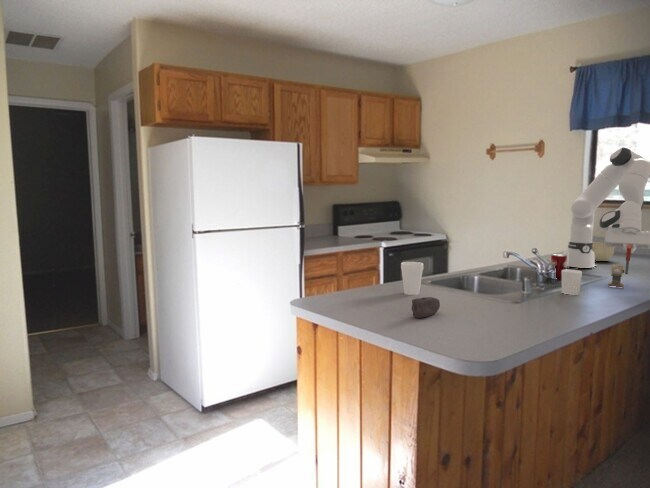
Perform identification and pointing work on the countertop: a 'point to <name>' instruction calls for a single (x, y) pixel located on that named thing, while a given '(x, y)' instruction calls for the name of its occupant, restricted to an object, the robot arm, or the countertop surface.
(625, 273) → the lever
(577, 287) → the white cup
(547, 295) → the countertop surface
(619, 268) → the valve stand
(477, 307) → the countertop surface
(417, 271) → the foam cup
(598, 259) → the planter bowl
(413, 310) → the perforated stone tool
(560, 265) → the soda can
